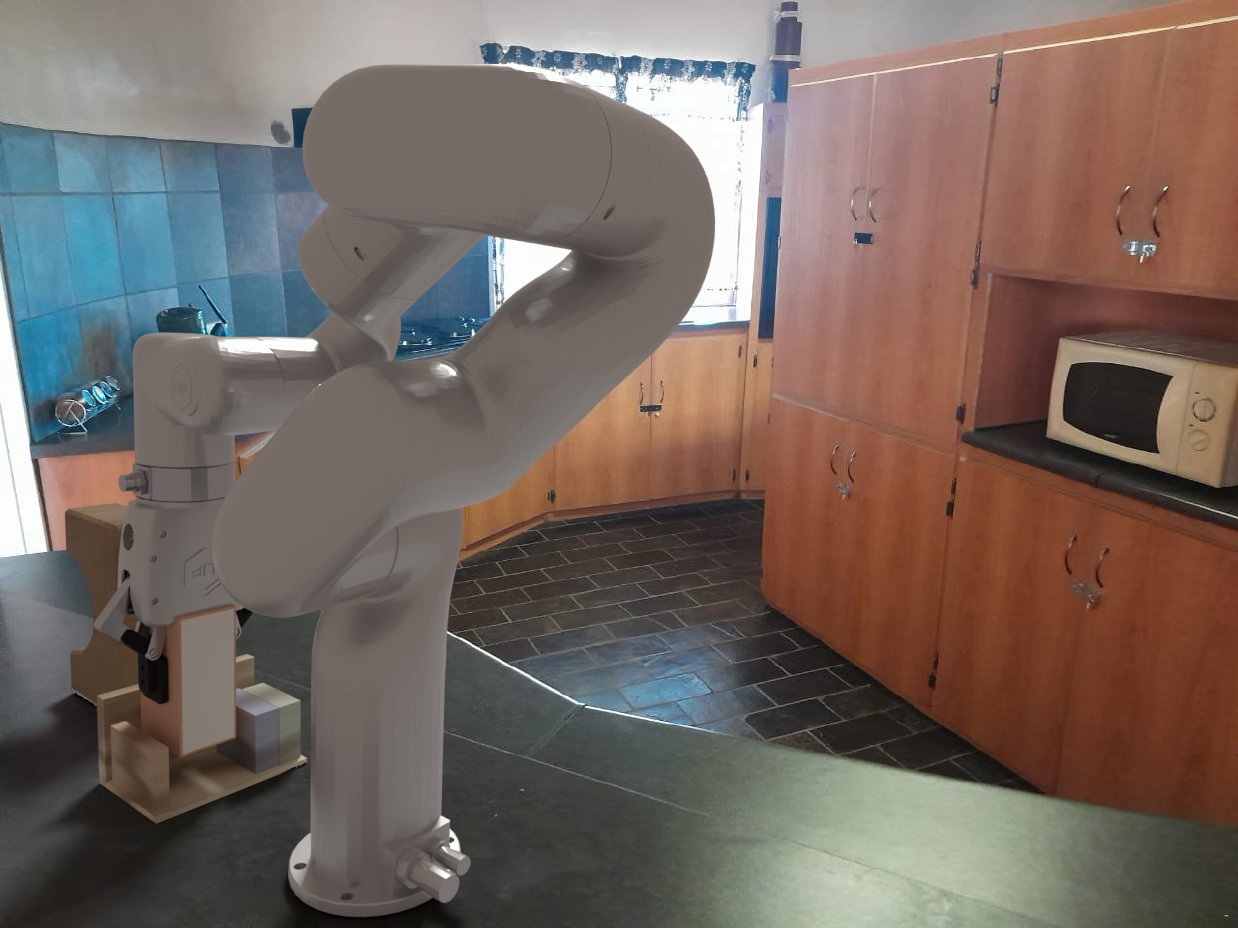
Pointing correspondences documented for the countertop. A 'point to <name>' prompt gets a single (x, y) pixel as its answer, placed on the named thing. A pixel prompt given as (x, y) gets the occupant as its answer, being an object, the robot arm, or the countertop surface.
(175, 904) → the countertop surface
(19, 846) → the countertop surface
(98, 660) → the decorative block
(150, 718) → the tall pink rectangular prism
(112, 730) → the shelf
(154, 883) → the countertop surface
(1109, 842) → the countertop surface
